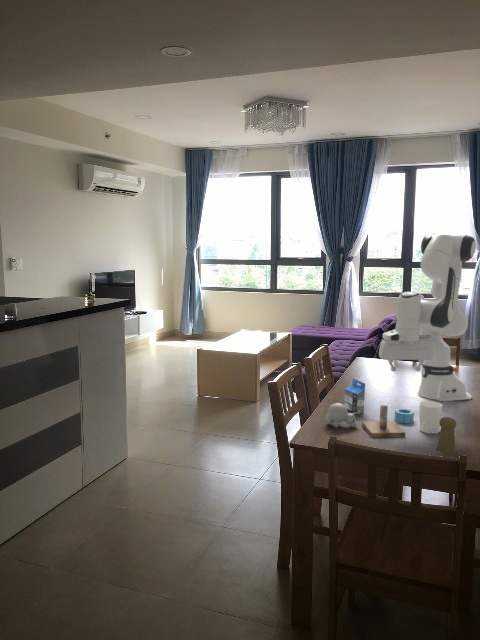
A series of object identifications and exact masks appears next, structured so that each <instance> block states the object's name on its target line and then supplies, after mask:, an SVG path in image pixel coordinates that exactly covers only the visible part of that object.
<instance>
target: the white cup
mask: <svg viewBox="0 0 480 640" xmlns="http://www.w3.org/2000/svg"><path fill="white" fill-rule="evenodd" d="M418 410H419V412H418V413H419V415H418V416H419V431H421V432H423V433H425V434H433V435H434V434H438V433H440V429H441V426H440V424H439V422H440V419H441V418H442V413H443V403H440V402H437V401H432V400H423V401H419V409H418Z"/></svg>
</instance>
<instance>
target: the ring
mask: <svg viewBox="0 0 480 640" xmlns="http://www.w3.org/2000/svg"><path fill="white" fill-rule="evenodd" d="M414 419H415V411H413V409H407V408H396V409H395V410H394V420H395V422H397V423H401V424H412V423H413V422H414V421H415V420H414Z"/></svg>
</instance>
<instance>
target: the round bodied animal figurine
mask: <svg viewBox="0 0 480 640" xmlns="http://www.w3.org/2000/svg"><path fill="white" fill-rule="evenodd" d="M348 411H349V410H348V409H347V408H346V407H345V404H343V403H340V402H335V403H332V404H330V405H329V408H328V410H327V414H326V416H325V419H324V422H325V423H327V424H331V425H332V427H334V428H339V427H340V424H341V423H342V422H344V423H345V424H347V425H349V427H351V428H356V427H357V425H358V424H359V423H360V420H358V421H357V420H356V416H355V415H356V413H355V412H348Z"/></svg>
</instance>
